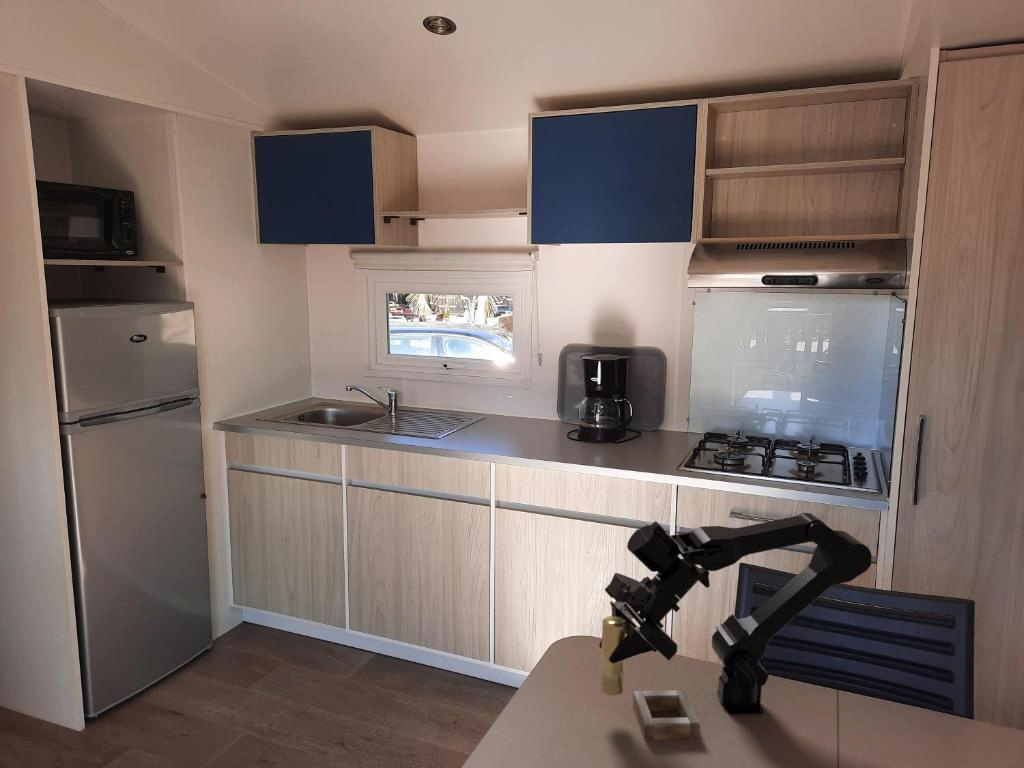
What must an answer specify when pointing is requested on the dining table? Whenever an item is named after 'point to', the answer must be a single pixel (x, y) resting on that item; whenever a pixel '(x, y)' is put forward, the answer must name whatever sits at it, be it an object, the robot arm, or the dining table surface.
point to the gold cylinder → (610, 640)
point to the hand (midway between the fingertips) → (605, 654)
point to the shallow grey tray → (665, 727)
